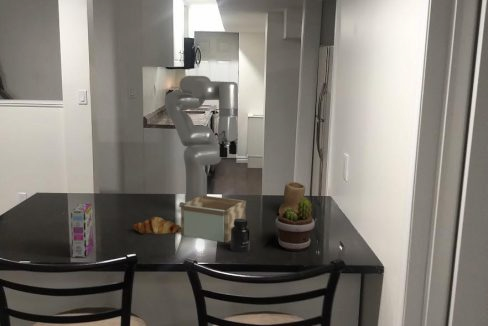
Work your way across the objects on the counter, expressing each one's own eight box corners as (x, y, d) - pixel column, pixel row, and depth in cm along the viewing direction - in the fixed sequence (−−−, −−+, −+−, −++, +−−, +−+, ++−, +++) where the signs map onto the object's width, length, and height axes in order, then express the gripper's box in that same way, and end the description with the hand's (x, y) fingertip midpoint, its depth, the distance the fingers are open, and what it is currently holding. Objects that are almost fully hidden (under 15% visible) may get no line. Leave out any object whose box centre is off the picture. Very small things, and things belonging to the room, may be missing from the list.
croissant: (185, 240, 191) (187, 221, 193) (180, 236, 181) (182, 216, 184) (134, 236, 193) (137, 217, 195) (127, 232, 183) (130, 212, 186)
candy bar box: (87, 257, 161) (85, 211, 158) (72, 258, 161) (69, 211, 158) (94, 246, 172) (92, 203, 169) (80, 246, 172) (78, 203, 169)
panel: (185, 234, 183) (185, 204, 181) (224, 241, 177) (224, 210, 175) (183, 235, 182) (183, 205, 180) (223, 242, 176) (223, 211, 174)
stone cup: (303, 219, 211) (304, 186, 208) (276, 217, 213) (277, 185, 211) (305, 210, 225) (306, 179, 223) (280, 208, 228) (281, 178, 225)
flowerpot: (274, 253, 169) (276, 199, 165) (274, 239, 184) (275, 189, 180) (315, 254, 168) (318, 200, 164) (311, 240, 183) (313, 190, 180)
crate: (201, 225, 199) (201, 195, 197) (245, 232, 191) (245, 200, 189) (181, 237, 184) (181, 204, 181) (227, 245, 176) (228, 211, 174)
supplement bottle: (247, 256, 165) (248, 223, 163) (228, 254, 167) (228, 222, 164) (251, 249, 172) (251, 218, 170) (232, 248, 173) (233, 216, 171)
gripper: (227, 112, 196) (227, 152, 199) (210, 114, 180) (210, 158, 183) (244, 112, 194) (244, 153, 197) (228, 114, 178) (228, 159, 181)
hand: (228, 155), depth 190 cm, fingers open, 9 cm apart
